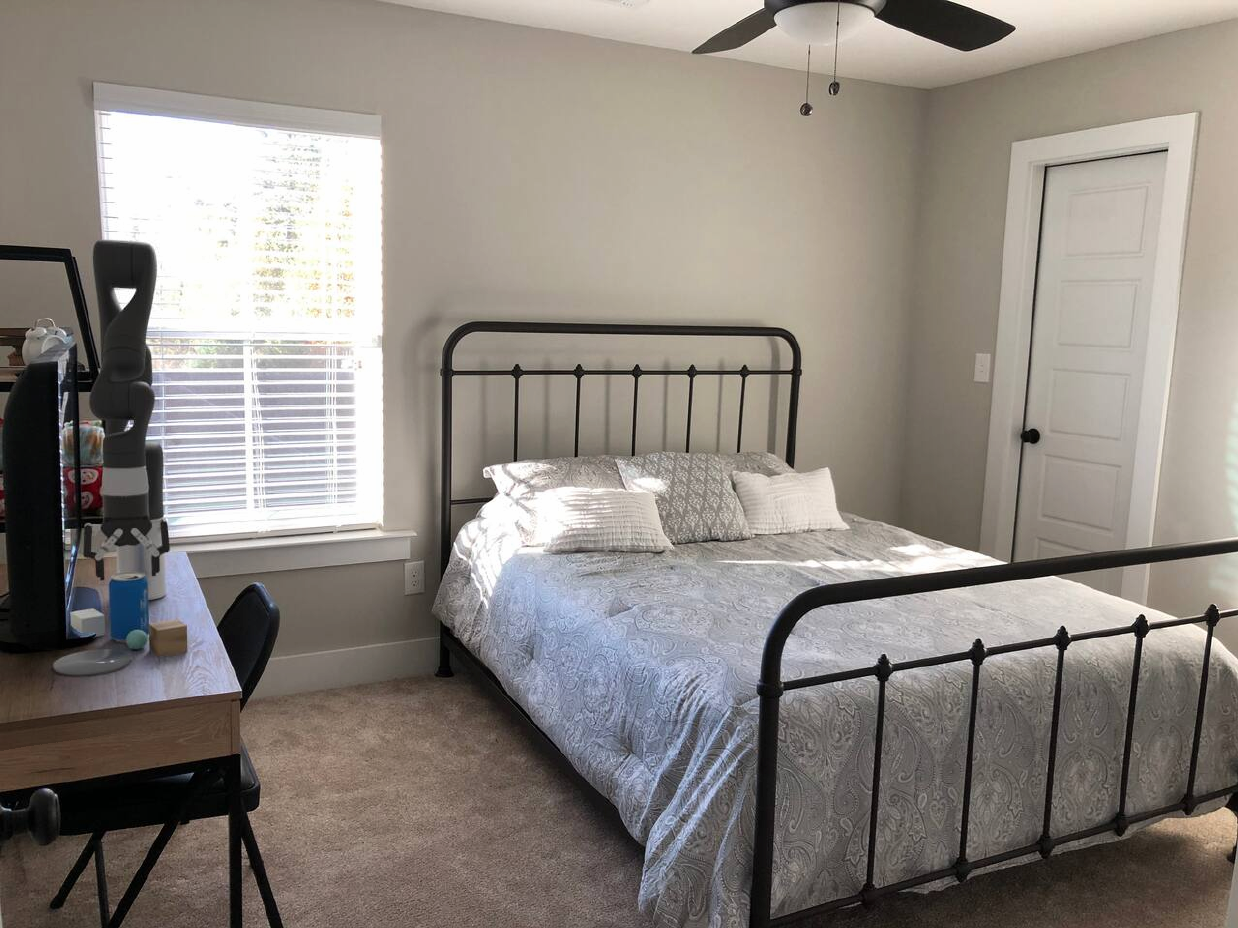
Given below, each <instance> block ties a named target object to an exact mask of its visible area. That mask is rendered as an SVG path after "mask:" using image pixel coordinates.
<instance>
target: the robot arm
mask: <svg viewBox="0 0 1238 928" xmlns="http://www.w3.org/2000/svg"><path fill="white" fill-rule="evenodd" d="M157 264H158V262H157V255H156V251H155V248H154V247H153V245H152V244H151V243H149V242H146V241H138V240H137V241H136V240H122V239H121V240H120V239H119V240H118V239H98V240H97V241H96V242H95V243H94V244H93V249H92V268H93V269H92V270H93V277H94V278H93V279H94V283H95V292H96V300H97V307H98V316H99V332H100V338H99V339H100V363H101V365H100V366H101V367H100V369H99V373H98V375H97V377H96V379H95V382H94V383H93V386H92V387H91V391H90V393H89V398H88V399H89V400H88V405H89V411H91V413H92V415H93V416H94V417H95V418H96V419H99V420H101V421H105V436H104V437H103V438H102V445H101V447H102V466H103V467H102V476H101V477H102V478H101V492H102V494H101V495H102V512H103V513H102V516H103V517H102V519H103V520H102V522H101V523H100V524H98V523H97V524H95V523H93V524H92V523H90V522H86V523H85V524H84V528H83V529H84V530H83V557H84V558H86V559H88V558H89V559H93V560H94V563H95V565H94V566H95V577H97V578H99V580H100V581H105V559H104V557H105V556H106V554H107V553H108V552H109V551H110V549H112V547H113V546H116V559H117V560H116V563H117V564H116V565H117V566H116V567H117V574H119V573H125V572H140V573H144V574H145V578H146V579H147V581H148V601H151V600H152V601H153V600H157V599H160V598H164V596H166V595H167V594H166V593H167V590H166V589H167V588H166V587H167V585H166V583H167V582H166V553H169V552H170V551H171V547H170V536H169V525H168V521H167V520H166V519H165V518H164V517H165V515H164V513H165V511H164V489H163V488H164V465H165V464H164V463H165V462H164V459H165V458H164V450H163V447H162V445H161V444H160V443H159V442H157V441H147V440H146V439H147V433H148V428H149V424H150V422H151V421H150V420H151V418H152V414H153V410H154V407H155V401H156V396H155V391H154V390H153V388H152V385H153V362H152V361H153V359H152V352H151V349H150V347H149V345H148V343H147V332H148V326H149V322H150V321H149V320H150V318H151V317H150V316H151V313H152V312H151V311H152V307H153V301H154V295H155V289H156V284H157V283H156V282H157V276H158V275H157V274H158V272H157V271H158V265H157ZM116 289H125V290H126V289H128V290H134V289H135V292H134V294H133V295H132V298H130V300H129V301H128V303H127V304H126V305H125V306H124V308H122V307H121V305H120V303H119V300H118V297H117V293H116V291H115V290H116ZM130 421H133V424H132V425H131V427H130V428H129V429H127V426H128V424H129V422H130ZM126 429H127V430H126ZM100 531H101V532H102V534H103V535H104V536H106V538H105V540H104V541H103V543H102V544H101V545H100V547H99V548H98V549H97V550H93V549H92V539H93V537H96V535H97V533H98V532H100Z"/></svg>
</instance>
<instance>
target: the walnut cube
mask: <svg viewBox="0 0 1238 928" xmlns="http://www.w3.org/2000/svg"><path fill="white" fill-rule="evenodd" d="M148 647H149V651H150V652H151V653H152V654H154V655H155V656H156V657H157V658H161V657H167V656H173V655H179V654H185V653H188V625H187V624H185V623H184V622H183V621H181V620H180V619H178V618H175V619H168V620H162V621H157V622H149V634H148Z"/></svg>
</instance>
